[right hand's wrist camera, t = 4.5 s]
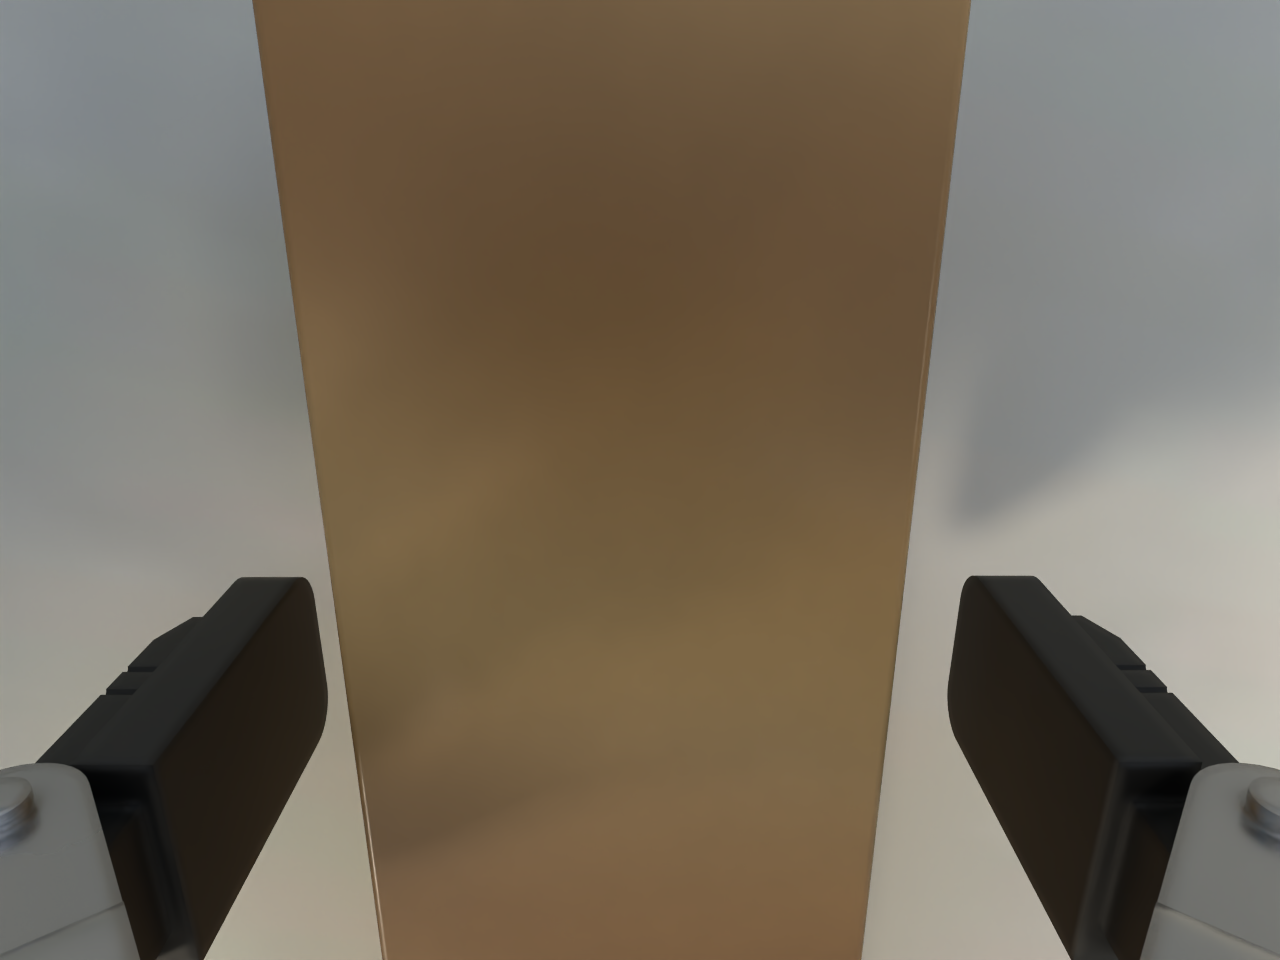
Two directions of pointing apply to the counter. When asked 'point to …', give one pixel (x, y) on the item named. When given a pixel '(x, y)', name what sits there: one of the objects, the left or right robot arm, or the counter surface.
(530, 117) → the beam
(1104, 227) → the counter surface
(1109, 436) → the counter surface
